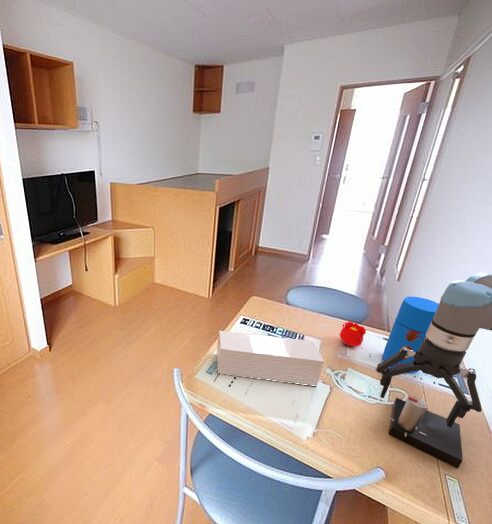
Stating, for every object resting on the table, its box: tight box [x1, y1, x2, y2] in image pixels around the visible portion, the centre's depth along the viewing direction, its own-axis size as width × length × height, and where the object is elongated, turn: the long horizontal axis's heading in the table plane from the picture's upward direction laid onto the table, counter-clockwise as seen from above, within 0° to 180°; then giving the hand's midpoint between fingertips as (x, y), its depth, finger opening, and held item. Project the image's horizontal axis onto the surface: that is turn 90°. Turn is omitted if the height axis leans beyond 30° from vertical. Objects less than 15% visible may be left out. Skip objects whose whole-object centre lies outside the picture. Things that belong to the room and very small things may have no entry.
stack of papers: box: [216, 330, 325, 387], centre depth 106 cm, size 32×11×11 cm, turn 79°
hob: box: [387, 397, 464, 469], centre depth 84 cm, size 15×15×3 cm
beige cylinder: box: [397, 395, 429, 433], centre depth 82 cm, size 4×4×9 cm
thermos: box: [381, 296, 439, 374], centre depth 106 cm, size 11×11×25 cm
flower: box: [339, 321, 367, 347], centre depth 120 cm, size 8×8×8 cm
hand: (413, 408), depth 81 cm, fingers open, 13 cm apart
